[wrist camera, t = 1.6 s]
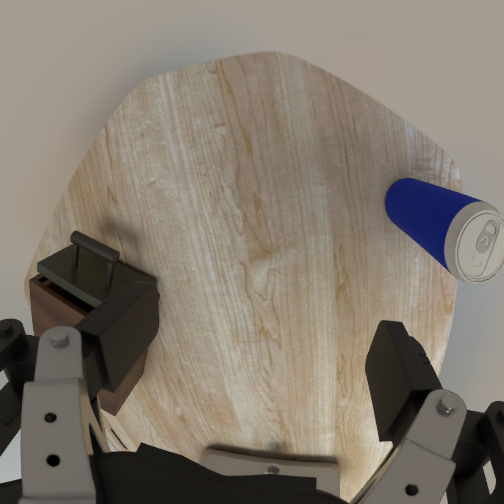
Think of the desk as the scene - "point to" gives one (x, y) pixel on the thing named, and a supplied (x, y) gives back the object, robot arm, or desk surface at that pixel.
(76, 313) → the cabinet
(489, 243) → the beverage can
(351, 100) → the desk surface
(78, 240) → the drawer
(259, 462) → the tank
